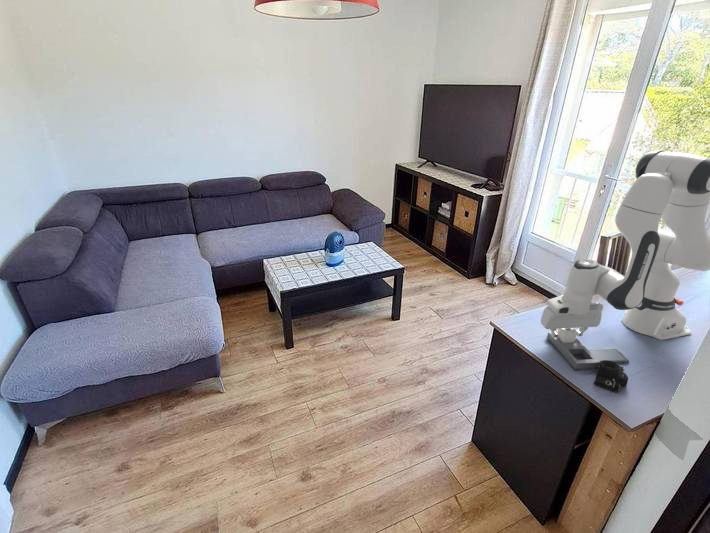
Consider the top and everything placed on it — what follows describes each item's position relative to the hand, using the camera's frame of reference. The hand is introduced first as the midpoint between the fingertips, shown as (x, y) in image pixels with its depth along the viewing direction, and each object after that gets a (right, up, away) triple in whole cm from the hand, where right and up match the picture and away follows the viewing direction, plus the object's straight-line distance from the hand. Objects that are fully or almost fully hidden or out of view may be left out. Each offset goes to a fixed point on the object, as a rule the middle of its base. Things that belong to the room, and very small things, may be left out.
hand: (566, 336), depth 134 cm
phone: (+10, -7, -5) cm, 13 cm away
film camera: (+6, -12, -14) cm, 19 cm away
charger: (0, -3, +1) cm, 3 cm away
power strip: (0, -6, -2) cm, 6 cm away
